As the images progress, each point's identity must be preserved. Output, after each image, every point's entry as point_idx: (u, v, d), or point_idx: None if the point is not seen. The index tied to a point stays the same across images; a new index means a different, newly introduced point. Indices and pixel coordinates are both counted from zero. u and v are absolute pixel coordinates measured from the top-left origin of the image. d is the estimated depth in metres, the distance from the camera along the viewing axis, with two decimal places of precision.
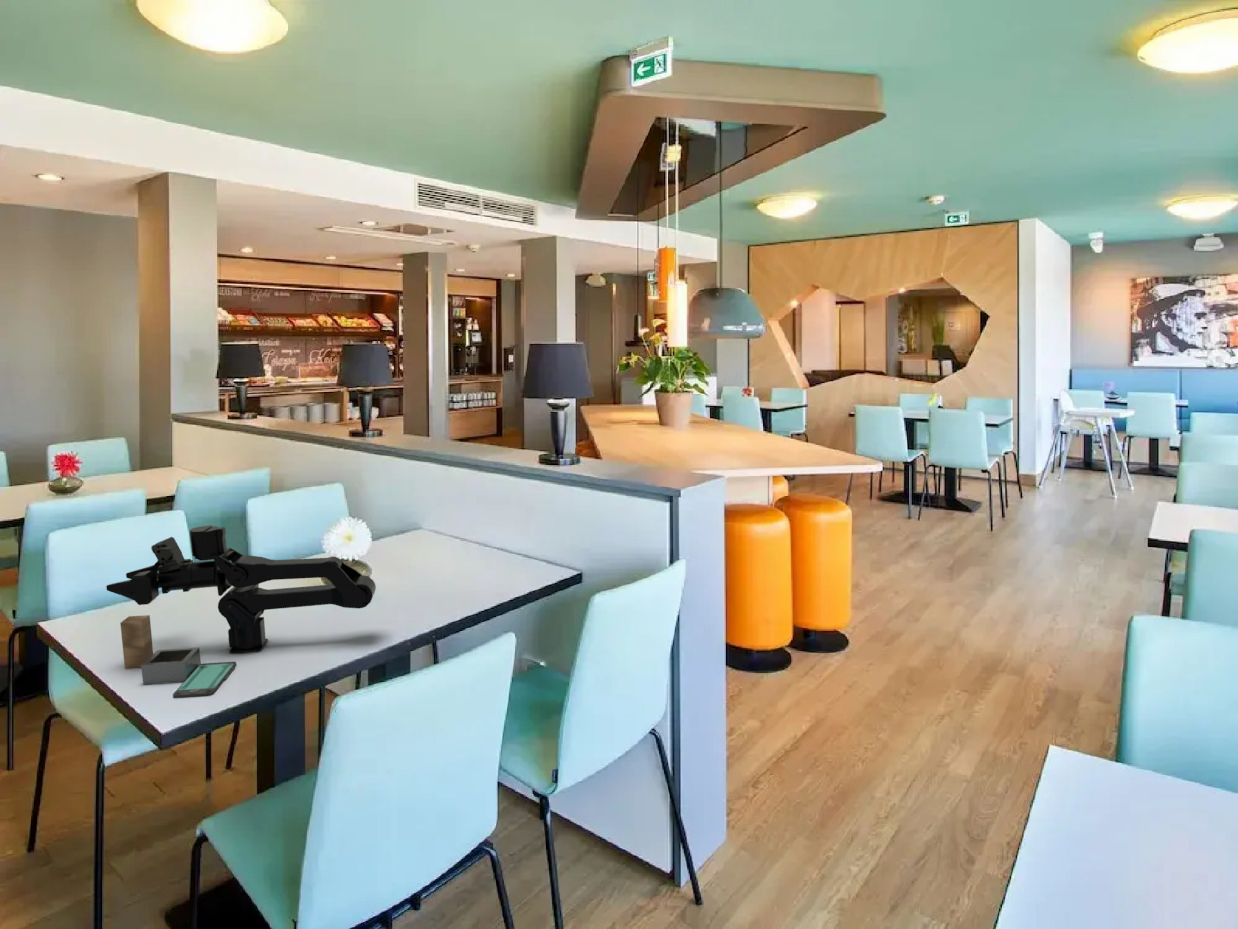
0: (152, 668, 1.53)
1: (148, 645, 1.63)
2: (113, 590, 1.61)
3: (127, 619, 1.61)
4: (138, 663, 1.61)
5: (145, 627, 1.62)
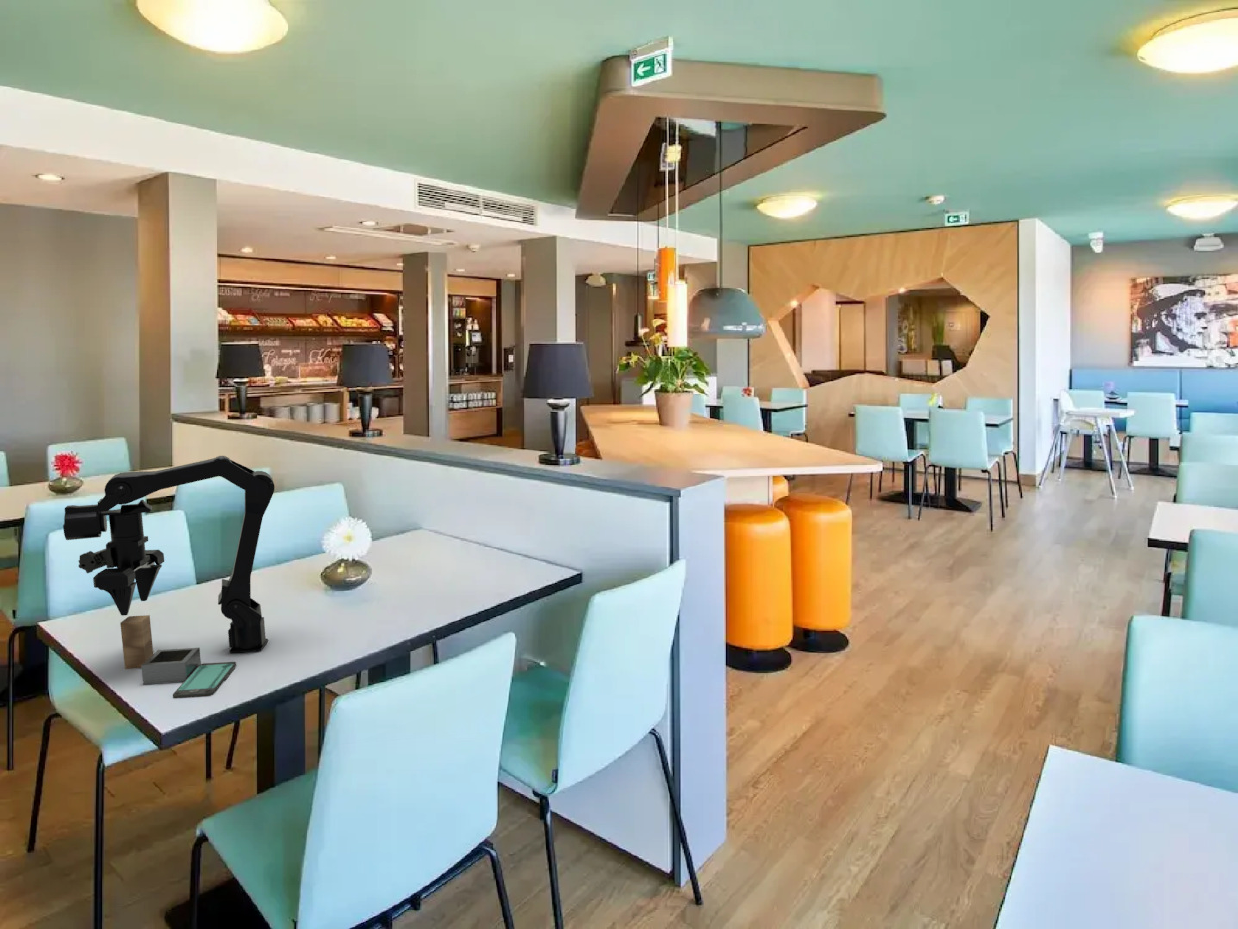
0: (152, 668, 1.53)
1: (148, 645, 1.63)
2: (125, 609, 1.56)
3: (127, 619, 1.61)
4: (138, 663, 1.61)
5: (145, 627, 1.62)
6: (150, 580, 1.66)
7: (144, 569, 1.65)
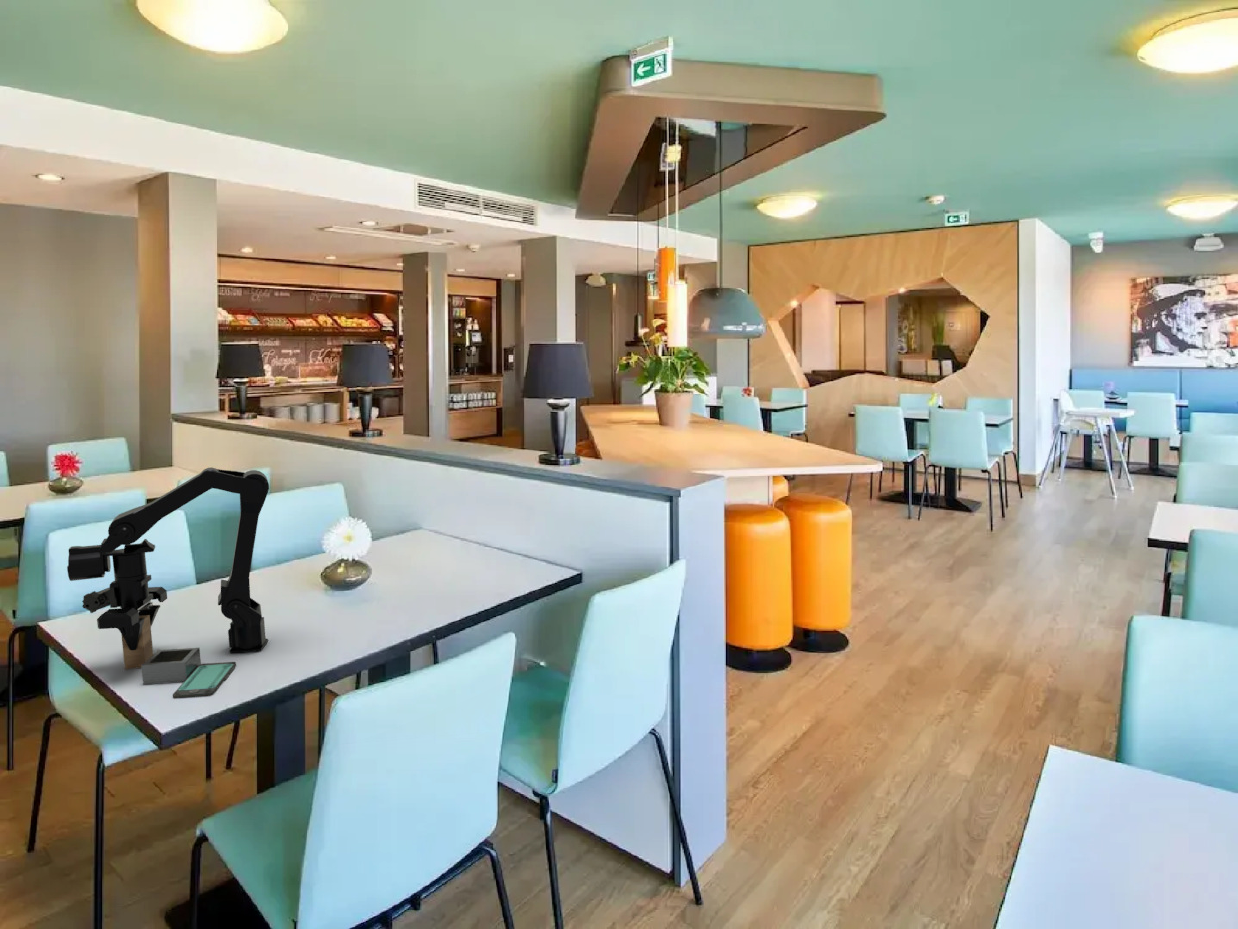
0: (152, 668, 1.53)
1: (148, 645, 1.63)
2: (134, 644, 1.60)
3: None
4: (138, 663, 1.61)
5: (145, 627, 1.62)
6: None
7: (142, 610, 1.64)
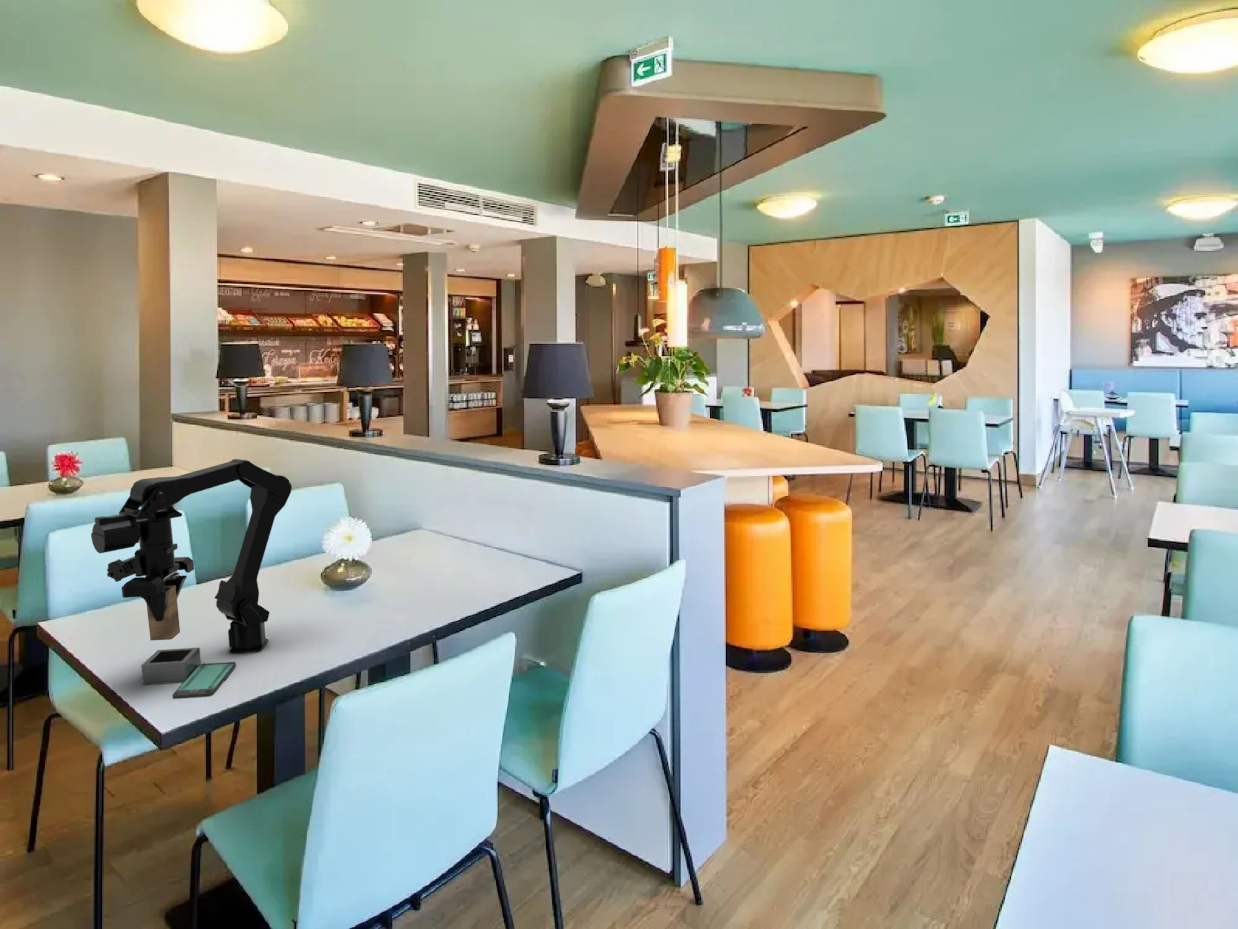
0: (152, 668, 1.53)
1: (174, 616, 1.57)
2: (159, 615, 1.54)
3: None
4: (164, 634, 1.55)
5: (171, 597, 1.56)
6: None
7: (168, 581, 1.58)
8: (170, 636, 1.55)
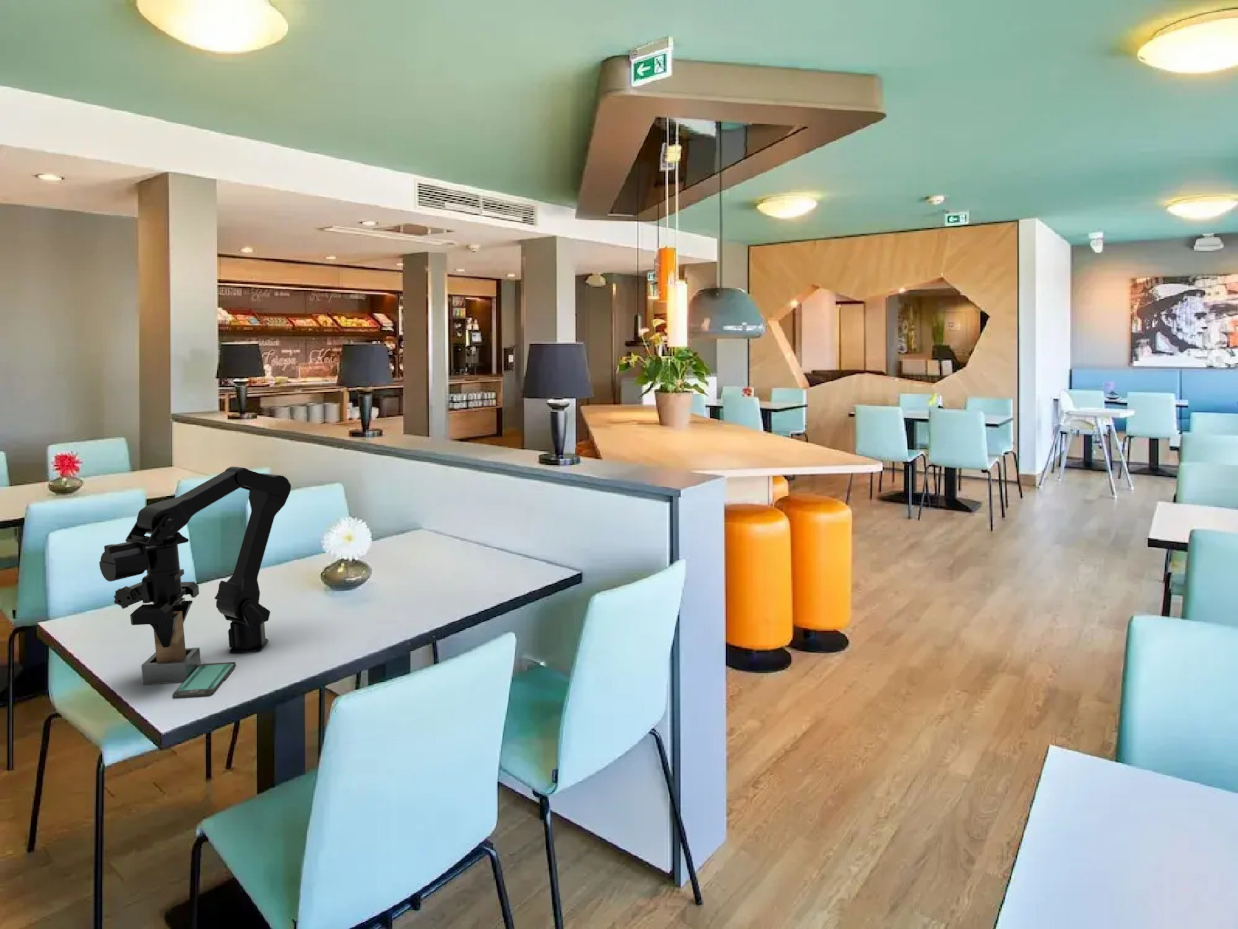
0: (152, 668, 1.53)
1: (181, 642, 1.57)
2: (167, 641, 1.54)
3: None
4: (171, 660, 1.55)
5: (178, 623, 1.56)
6: None
7: (175, 606, 1.59)
8: None
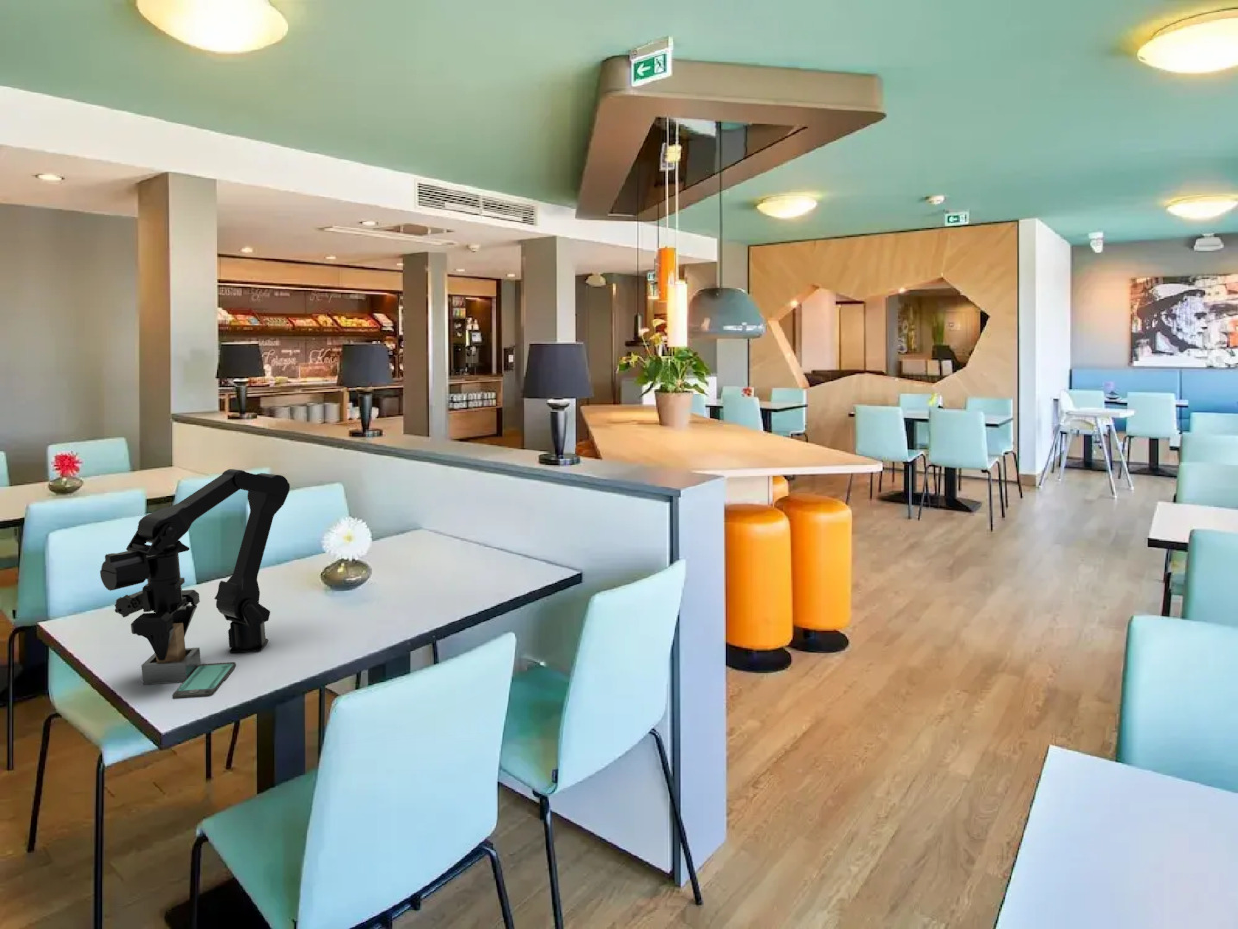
0: (152, 668, 1.53)
1: (181, 654, 1.58)
2: (162, 654, 1.52)
3: None
4: None
5: (179, 635, 1.57)
6: (185, 622, 1.61)
7: (179, 611, 1.61)
8: None
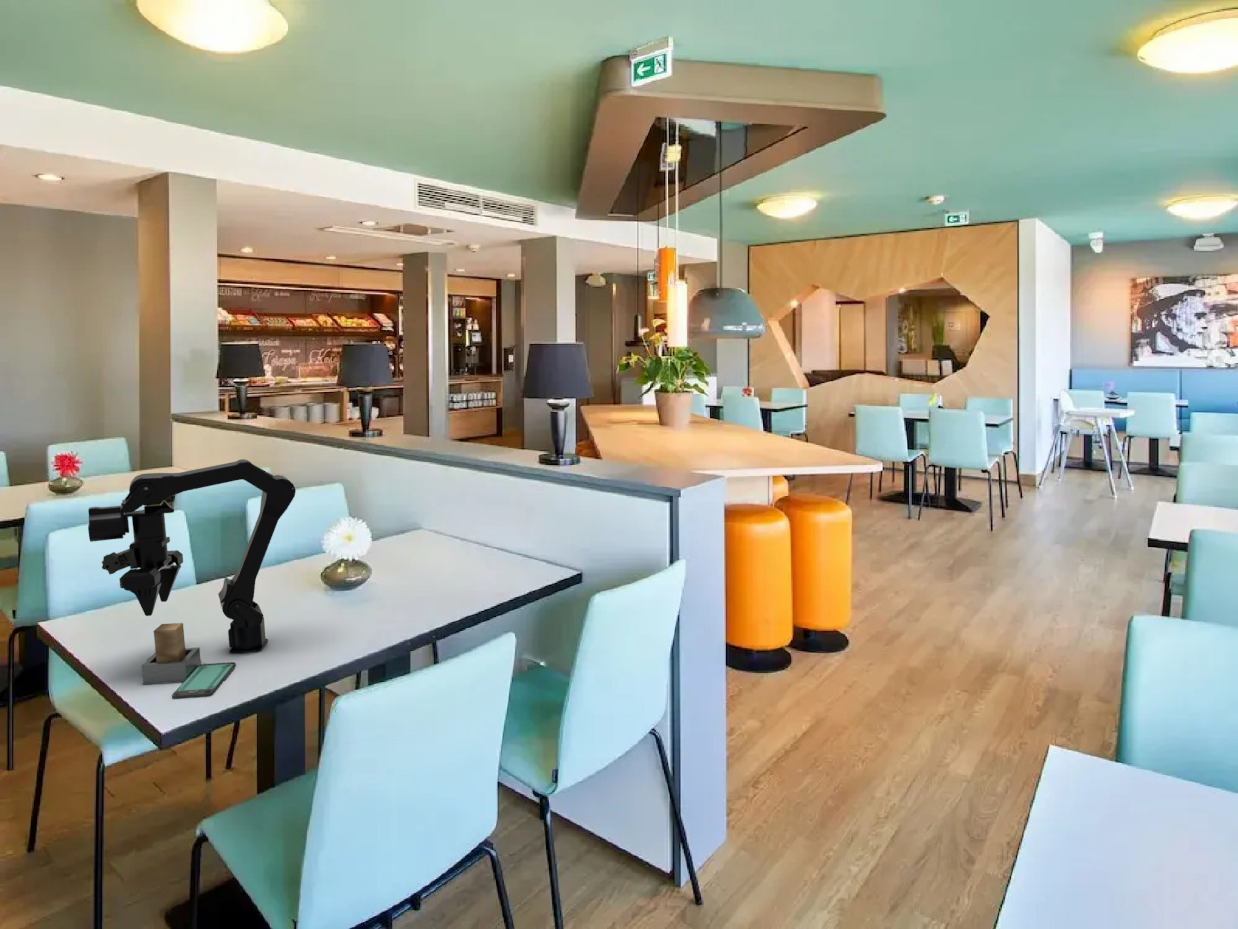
0: (152, 668, 1.53)
1: (181, 654, 1.58)
2: (149, 609, 1.57)
3: (160, 627, 1.56)
4: None
5: (179, 635, 1.57)
6: (170, 581, 1.66)
7: (164, 570, 1.66)
8: None
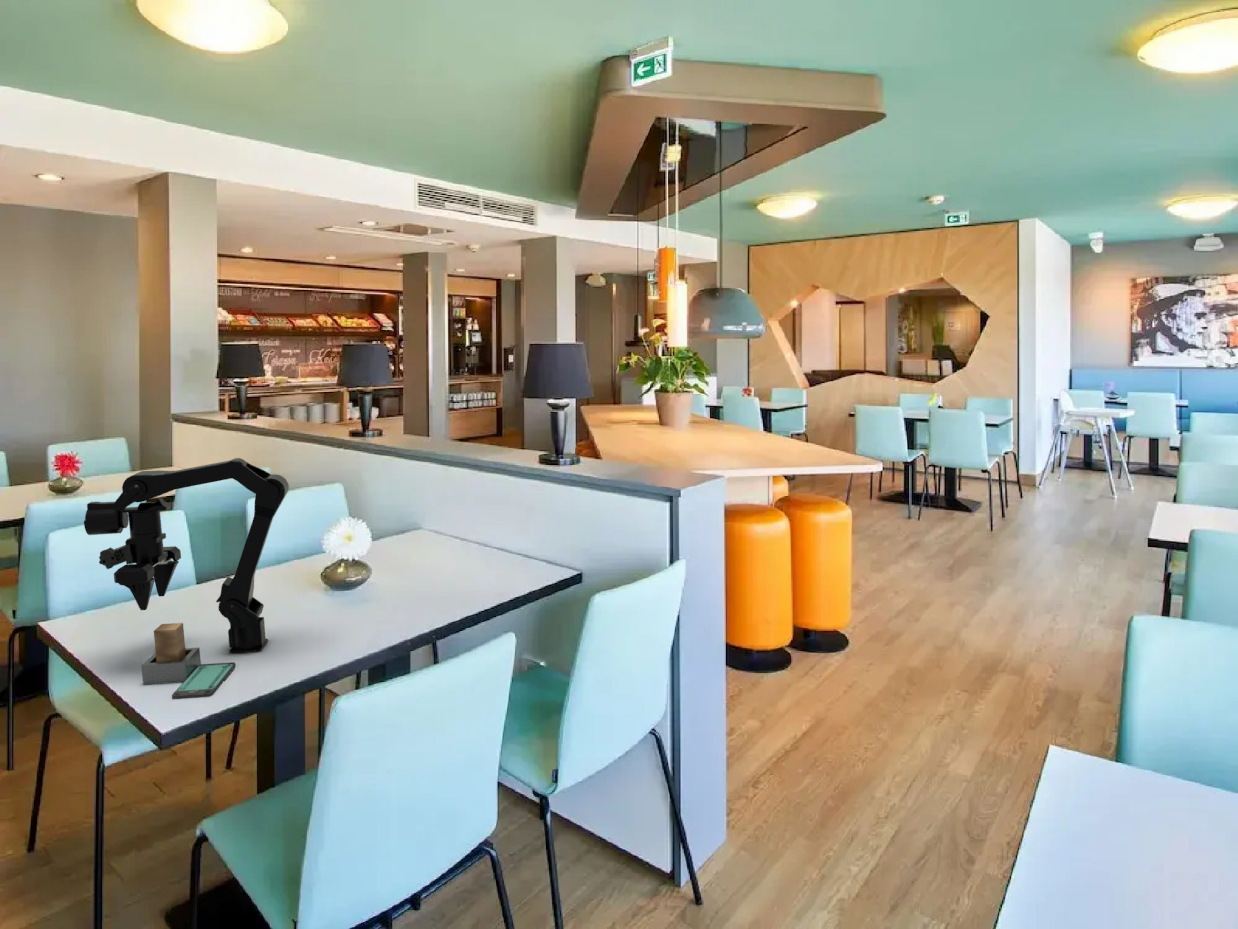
0: (152, 668, 1.53)
1: (181, 654, 1.58)
2: (144, 604, 1.60)
3: (160, 627, 1.56)
4: None
5: (179, 635, 1.57)
6: (167, 576, 1.70)
7: (162, 565, 1.70)
8: None
